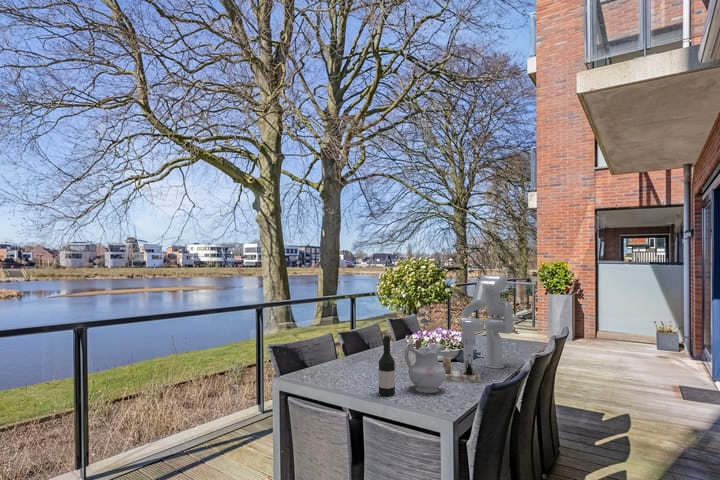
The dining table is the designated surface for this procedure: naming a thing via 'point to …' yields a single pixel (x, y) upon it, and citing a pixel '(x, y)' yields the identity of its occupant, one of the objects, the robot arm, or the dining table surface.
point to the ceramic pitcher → (426, 368)
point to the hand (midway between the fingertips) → (468, 372)
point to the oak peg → (466, 366)
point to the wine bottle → (386, 371)
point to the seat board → (458, 373)
